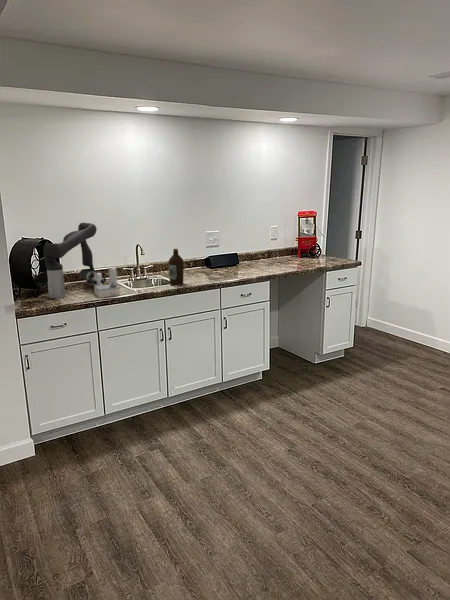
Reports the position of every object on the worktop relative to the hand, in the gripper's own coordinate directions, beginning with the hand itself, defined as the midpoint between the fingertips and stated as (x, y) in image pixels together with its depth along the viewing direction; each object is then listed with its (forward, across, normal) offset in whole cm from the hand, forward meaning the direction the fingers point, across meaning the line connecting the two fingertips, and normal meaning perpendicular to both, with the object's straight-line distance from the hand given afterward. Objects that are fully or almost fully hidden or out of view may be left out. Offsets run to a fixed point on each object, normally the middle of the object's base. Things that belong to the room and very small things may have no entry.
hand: (99, 282), depth 295 cm
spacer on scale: (+11, +6, +2) cm, 13 cm away
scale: (+8, +2, +6) cm, 11 cm away
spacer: (-3, 0, +6) cm, 7 cm away
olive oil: (+3, +53, +7) cm, 53 cm away
